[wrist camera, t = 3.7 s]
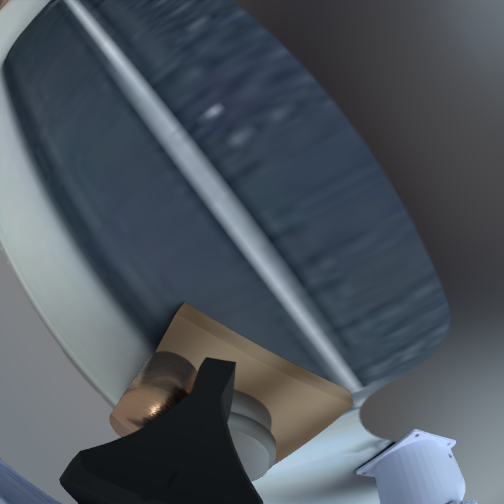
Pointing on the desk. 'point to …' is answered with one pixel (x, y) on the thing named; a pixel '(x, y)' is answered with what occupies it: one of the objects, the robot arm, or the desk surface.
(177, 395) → the hammer
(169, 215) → the desk surface
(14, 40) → the desk surface
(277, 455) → the wooden base with cylinder
